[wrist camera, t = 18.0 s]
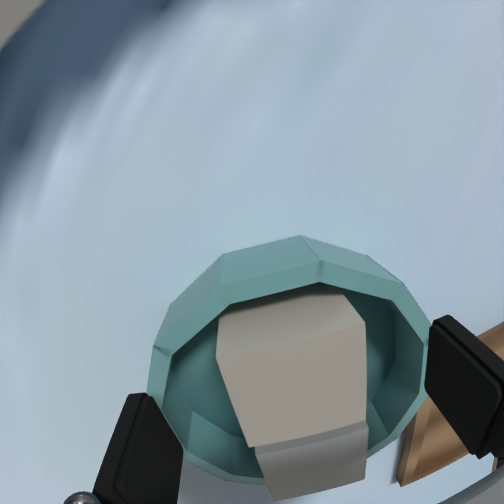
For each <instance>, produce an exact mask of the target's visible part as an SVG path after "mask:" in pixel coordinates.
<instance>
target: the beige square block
mask: <svg viewBox="0 0 504 504" xmlns="http://www.w3.org/2000/svg"><path fill="white" fill-rule="evenodd" d="M216 360H217V363H218V365H219V368H220V371H221V374H222V377H223V380H224V383H225V385H226V388H227V391H228V394H229V397H230V399H231V402H232V405H233V408H234V410H235V413H236V416H237V418H238V421H239V423H240V426H241V429H242V431H243V434H244V436H245V439H246V442H247V444H248V447H255V446H261V445H267V444H273V443H278V442H283V441H288V440H293V439H297V438H302V437H306V436H310V435H315V434H319V433H323V432H326V431H330V430H334V429H337V428H341V427H344V426H348V425H351V424H355V423H358V422H361V421H364V420H366V396H367V363H366V328H365V322H364V320H363V319H362V318H361V317H360V315H359V314H358V313H357V311H356V310H355V309H354V307H353V306H352V305H351V304H350V302H349V301H348V300H347V298H346V297H345V296H344V295H343V293H342V292H341V291H340V290H339V288H338V287H337V286H334V285H330V284H326V283H322V282H317V283H313V284H310V285H306V286H302V287H298V288H294V289H290V290H286V291H282V292H278V293H274V294H270V295H266V296H262V297H258V298H253V299H249V300H245V301H241V302H236V303H232V304H230V305H228V306H227V307H226V308H225V309H224V310H223V311H222V312H221V313H220V315H219V326H218V337H217V348H216Z"/></svg>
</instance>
